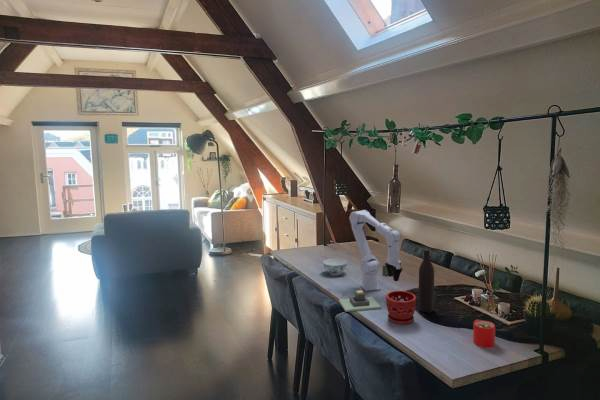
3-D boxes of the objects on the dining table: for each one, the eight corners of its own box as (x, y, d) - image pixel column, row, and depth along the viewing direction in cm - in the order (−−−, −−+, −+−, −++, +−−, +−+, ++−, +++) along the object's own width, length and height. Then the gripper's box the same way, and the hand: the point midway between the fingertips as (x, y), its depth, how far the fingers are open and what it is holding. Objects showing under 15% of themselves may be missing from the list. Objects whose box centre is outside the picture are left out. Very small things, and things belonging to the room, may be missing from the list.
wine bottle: (433, 308, 203) (433, 248, 199) (434, 313, 196) (435, 251, 192) (418, 307, 204) (418, 247, 200) (419, 313, 198) (419, 251, 194)
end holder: (338, 301, 215) (338, 295, 215) (372, 298, 218) (372, 292, 218) (345, 311, 202) (345, 306, 201) (381, 308, 204) (381, 302, 204)
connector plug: (354, 301, 211) (354, 290, 211) (362, 301, 212) (362, 289, 211) (357, 304, 207) (356, 293, 207) (364, 304, 208) (364, 292, 207)
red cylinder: (482, 333, 175) (482, 315, 174) (498, 346, 164) (499, 327, 162) (464, 334, 175) (464, 316, 173) (479, 348, 163) (480, 329, 162)
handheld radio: (381, 275, 255) (397, 265, 275) (386, 276, 254) (402, 265, 274) (381, 264, 254) (397, 255, 274) (386, 265, 252) (402, 256, 272)
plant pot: (380, 318, 193) (380, 294, 191) (401, 312, 199) (401, 288, 197) (400, 329, 181) (400, 303, 180) (422, 322, 188) (422, 296, 186)
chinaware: (352, 272, 261) (351, 261, 260) (337, 279, 250) (337, 266, 249) (333, 268, 271) (332, 257, 270) (318, 274, 260) (318, 262, 259)
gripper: (406, 256, 211) (406, 282, 213) (395, 249, 225) (395, 273, 227) (392, 257, 210) (392, 283, 212) (382, 250, 224) (383, 274, 226)
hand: (393, 278), depth 219 cm, fingers open, 7 cm apart
